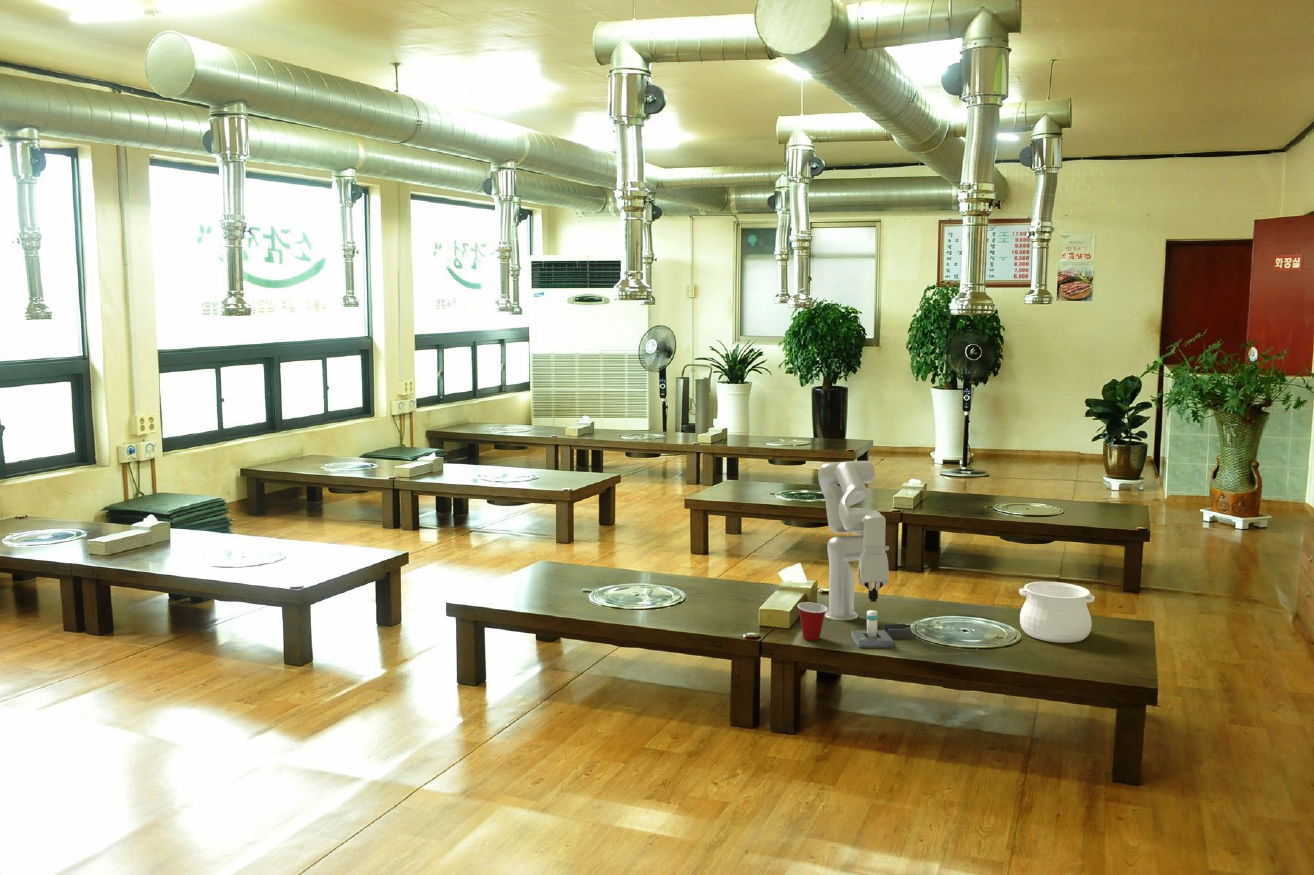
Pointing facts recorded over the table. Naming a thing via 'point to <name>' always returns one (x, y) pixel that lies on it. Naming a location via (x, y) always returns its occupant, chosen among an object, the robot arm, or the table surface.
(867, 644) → the port
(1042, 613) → the pot
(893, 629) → the holster
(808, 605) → the plastic cup
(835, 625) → the table surface
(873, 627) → the white cylinder
